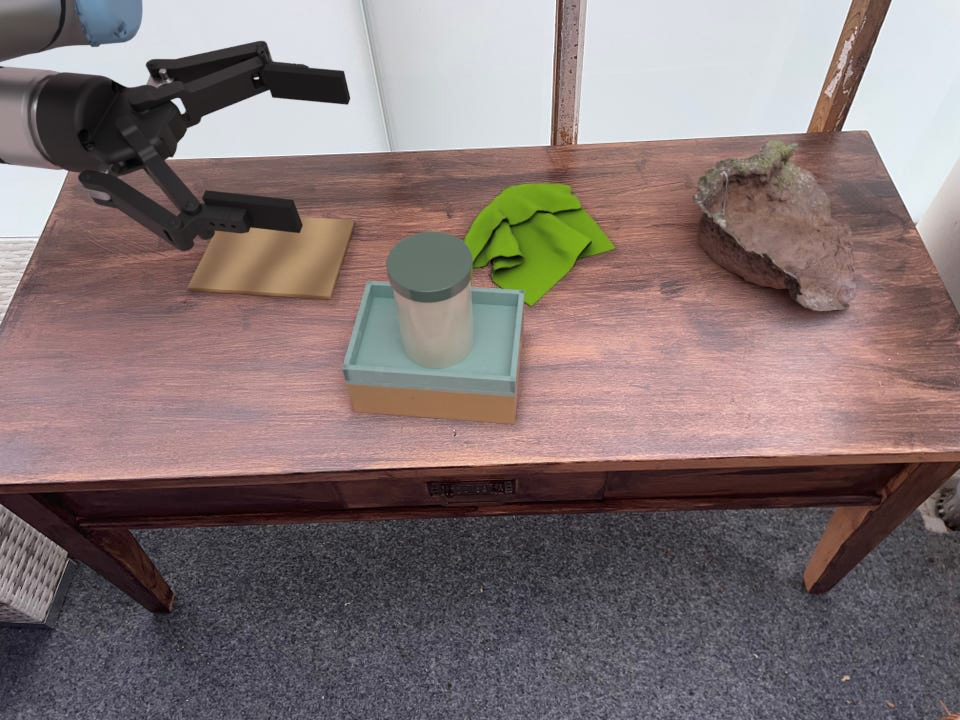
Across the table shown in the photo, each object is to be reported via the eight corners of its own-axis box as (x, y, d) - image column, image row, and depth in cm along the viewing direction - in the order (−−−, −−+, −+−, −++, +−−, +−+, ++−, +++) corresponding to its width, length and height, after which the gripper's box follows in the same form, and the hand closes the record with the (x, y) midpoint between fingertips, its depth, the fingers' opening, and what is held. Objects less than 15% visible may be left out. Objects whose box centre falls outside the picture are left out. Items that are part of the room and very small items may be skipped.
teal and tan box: (354, 412, 77) (341, 368, 71) (376, 326, 85) (367, 280, 79) (514, 424, 76) (515, 381, 70) (523, 335, 83) (524, 289, 77)
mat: (188, 290, 89) (187, 287, 89) (225, 216, 98) (224, 212, 97) (330, 299, 87) (330, 296, 87) (355, 223, 96) (355, 219, 96)
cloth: (572, 175, 101) (574, 161, 99) (635, 283, 88) (638, 268, 86) (430, 204, 98) (429, 190, 96) (473, 320, 85) (473, 306, 83)
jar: (393, 367, 74) (378, 288, 65) (407, 309, 79) (394, 228, 70) (471, 373, 73) (467, 294, 64) (480, 314, 78) (477, 233, 69)
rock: (864, 355, 84) (918, 296, 76) (679, 320, 82) (716, 256, 75) (818, 214, 100) (859, 154, 92) (664, 183, 99) (692, 120, 91)
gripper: (147, 59, 66) (370, 79, 64) (17, 277, 54) (286, 311, 52) (108, -18, 60) (355, 1, 58) (-50, 209, 48) (255, 245, 45)
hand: (323, 148), depth 55 cm, fingers open, 13 cm apart
